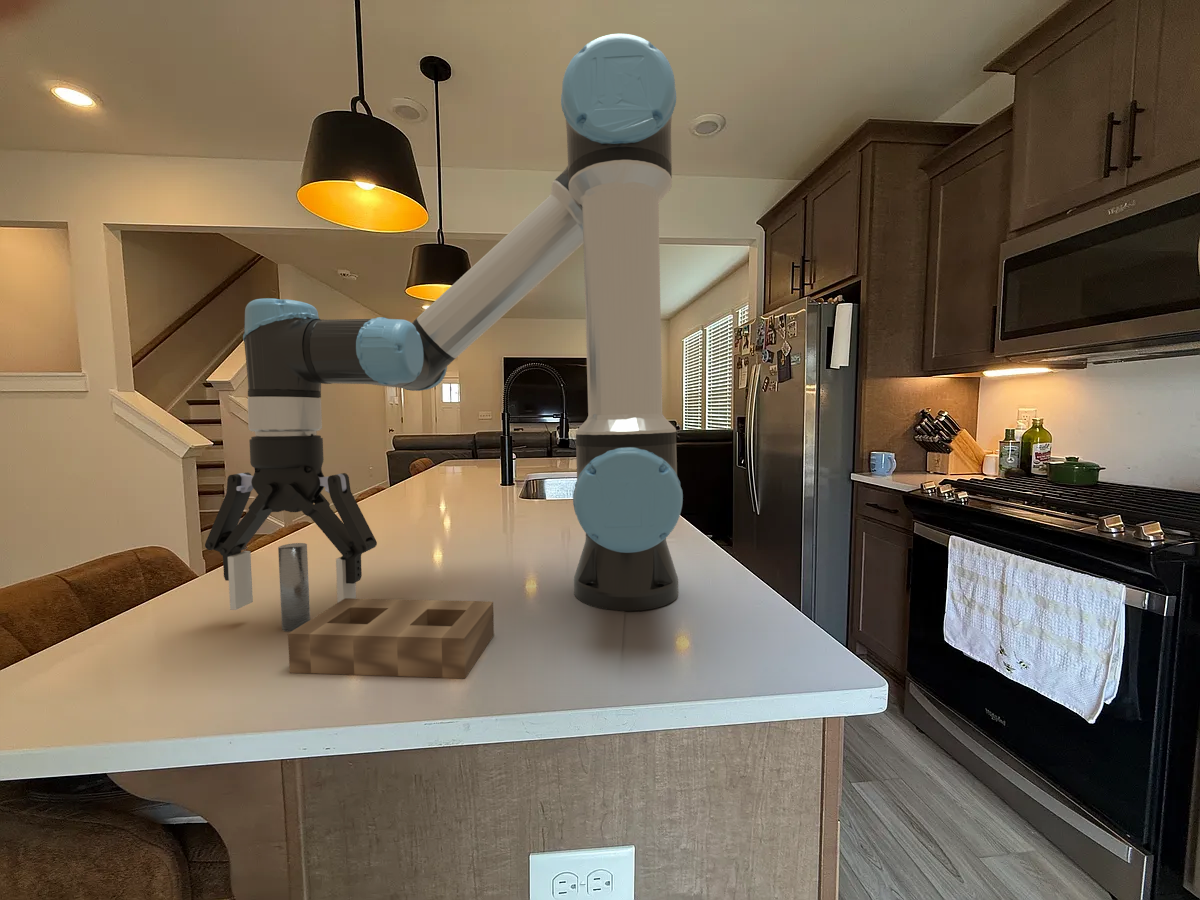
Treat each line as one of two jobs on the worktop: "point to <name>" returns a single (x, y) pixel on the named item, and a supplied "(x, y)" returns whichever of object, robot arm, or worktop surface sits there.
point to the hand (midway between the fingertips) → (294, 607)
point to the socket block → (393, 638)
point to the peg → (294, 585)
